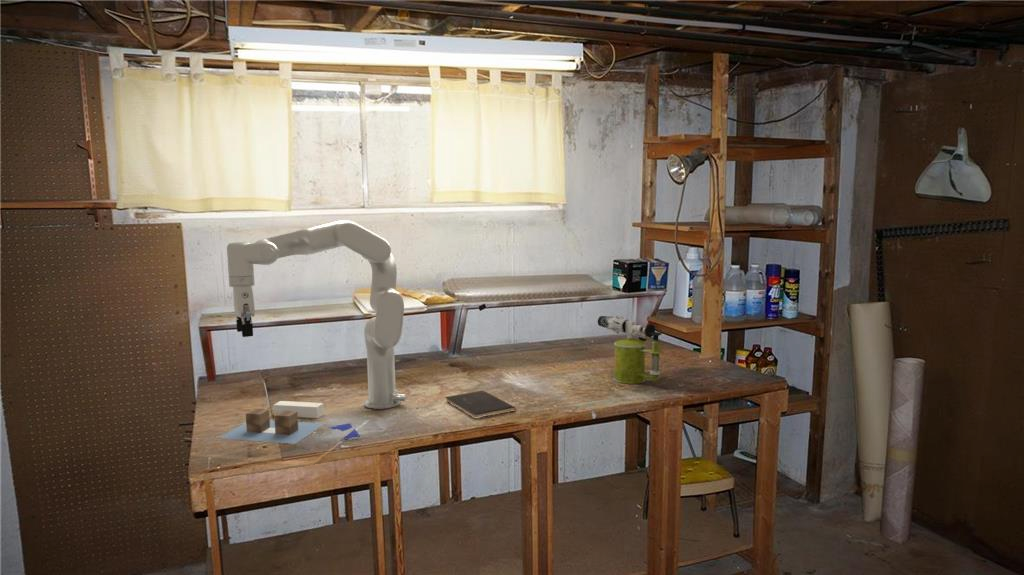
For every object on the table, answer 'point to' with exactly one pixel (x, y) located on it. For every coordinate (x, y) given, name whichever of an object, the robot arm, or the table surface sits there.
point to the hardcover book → (479, 403)
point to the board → (272, 433)
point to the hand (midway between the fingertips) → (245, 333)
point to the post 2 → (286, 422)
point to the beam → (300, 408)
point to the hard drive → (344, 427)
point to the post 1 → (257, 420)
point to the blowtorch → (632, 350)
